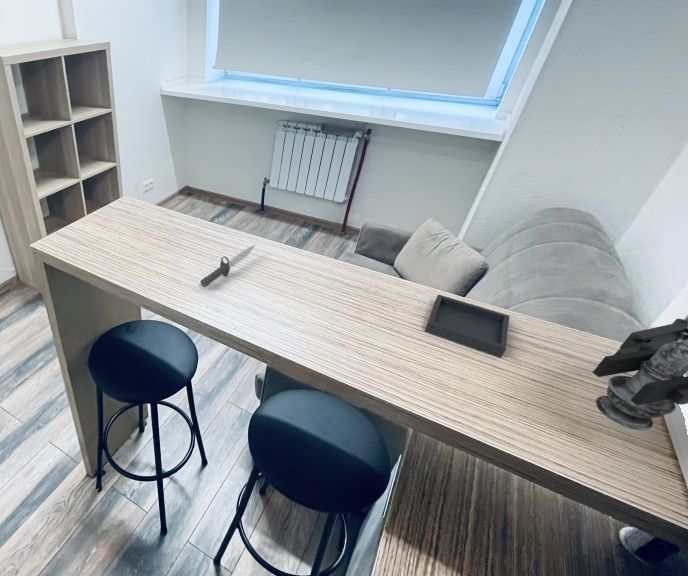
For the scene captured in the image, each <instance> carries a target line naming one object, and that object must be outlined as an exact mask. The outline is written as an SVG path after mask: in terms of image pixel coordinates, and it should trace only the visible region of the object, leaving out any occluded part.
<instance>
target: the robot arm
mask: <svg viewBox="0 0 688 576" xmlns="http://www.w3.org/2000/svg"><path fill="white" fill-rule="evenodd" d="M682 341H683V342H682ZM685 341H688V320H686V319H683V318H676V319H675V320H674V321H673V322H672V323H669V324H665V325H660V326H655V327H650V328H647V329H641V330H637V331H633V332H631V333H630V334H629V335H628V337H626V339H625V340H624V341H623V343H622V344H621V345H620V346H619V349H617V351H616V352H615V353H614V354H612V355H606V356H604V357H603V359H602V360H601V361H600V362H599V363H598V365H597V366H596V367H595V368H594V370H592V372H591V373H592V374H593V375H595V376H596V377H598V378H602V377H608V376H615V375H620V374H626V373H632V372H638V371H639V370H640V368H641V365H640V364H641V362H642V361H645V360H650V359H651V358H652V357H653V355H654V354H655V353H656V352H657V351H658V350H659V349H660V348H661V347H662V346H663V345H665V344H669V343H676V344H683V345H684V342H685ZM664 400H671V401H673V402H674V403H675V405H682V406H683V405H687V404H688V375H687V376H686V375H685V376H684V377H681V378H675V379H669V380H664V381H658V382H652V383H647V384H645V385H644V386H643V387H642V388H641V389H640V390H639V391H638V392H637V393H636V395H635V396H634V397H633V398H632V399H631V401H632V402H634V403H635V404H636V405H643V404H648V403H653V402H659V401H664Z"/></svg>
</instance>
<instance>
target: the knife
mask: <svg viewBox="0 0 688 576" xmlns="http://www.w3.org/2000/svg"><path fill="white" fill-rule="evenodd" d="M255 247H256V244H253V245H251V246H249V247H247V248H245V249H243V250H241V251H240V252H238V254H236V255H235V256H233V257H232V258H231V259H229V258H228V257H227V256H222V257H221V258H220V263H219V267H217V269H215V270H214V271H212V272H211V273H210V274H208V275H207V276H204V277H203V278H202V279H201V280H200V282H199V283H200V285H201V286H202V287H203V288H206V287H208V286H209V285H210V284H212V282H214V281H215V280H216V279H218V278H219V277H221V276H223V277H225V278H227V277H228V275H229V273H230V270H231V268H232V267H233V266H234V265H236V264H237V263H238V262H240V261H241V260H243V259H244V258H245V257H247V256H248V255H249V254H250V253H251V252H252V250H253V249H254V248H255ZM223 259H226V262H224V260H223Z"/></svg>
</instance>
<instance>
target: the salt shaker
mask: <svg viewBox="0 0 688 576" xmlns="http://www.w3.org/2000/svg"><path fill="white" fill-rule="evenodd" d="M683 342H684V345H683V344H676V343H669V344H665V345H663V346H662V347H661V348H660V349H659V350H658V351H657V352H656V353H655V354H654V355H653V357H652V358H651V359H650V360H645V361H642V362H641V364H640V365H641V368H640V370H638V371H636V373H635V374H634V375H632V376H629V375H622V374H621V375H620V374H617V375H612V376H611V377H610V378H609V379H608V382H607V383H608V385H607V390H606V394H607V395H606V394H605V395H604V394H603V395H600V396H598V397H596V399H595V406H596V407H597V409H598V411H600V412H601V414H603V415H604V416H605V417H606V418H608V419H609V420H611V421H613V423H616V424H618V425H620V426H622V427H625V428H627V429H631V430H635V431H642V432H643V431H649V430H651V429H652V428H653V425H654V422H653V419H657V418H660V417H664V416H665V415H669V414H672V413H674V412H675V411H676V408H677V405H676V403H674V402H673V401H671V400H664V401H659V402H653V403H648V404H643V405H636V404H635V403H634V402H632V401H631V399H632V398H633V397H634V396H635V395H636V393H637V392H638V391H639V390H640V389H641V388H642V387H643V386H644V385H645V384H647V383H652V382H658V381H664V380H669V379H675V378H681V377H685V376H684V375H685V374H686V373H687V372H688V340H686V341H683Z"/></svg>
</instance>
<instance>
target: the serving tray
mask: <svg viewBox="0 0 688 576" xmlns="http://www.w3.org/2000/svg"><path fill="white" fill-rule="evenodd" d="M509 324H510V315H509V314H506V313H502V312H500V311H496V310H492V309H489V308H485V307H483V306H478V305H475V304H472V303H468V302H465V301H463V300H459V299H455V298H452V297H449V296H445V295H442V294H437V295H436V298H435V300H434V303H433V305H432V308H431V311H430V314H429V317H428V319H427V322H426V325H425V329H424V332H425V333H427V334H430V335H434V336H436V337H439V338H441V339H445V340H448V341H451V342H454V343H457V344H459V345H463V346H465V347H469V348H471V349H474V350H476V351H479V352H483V353H486V354H489V355H492V356H495V357H498V358H502V356H503V355H504V353H505V351H506V350H507V345H508V333H509V327H510V325H509Z"/></svg>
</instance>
